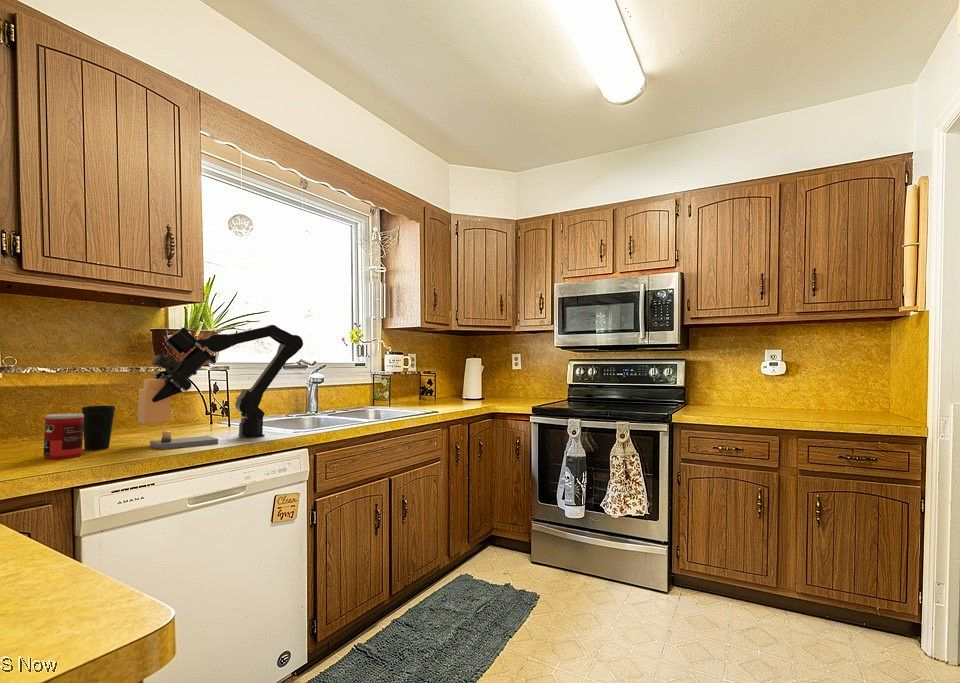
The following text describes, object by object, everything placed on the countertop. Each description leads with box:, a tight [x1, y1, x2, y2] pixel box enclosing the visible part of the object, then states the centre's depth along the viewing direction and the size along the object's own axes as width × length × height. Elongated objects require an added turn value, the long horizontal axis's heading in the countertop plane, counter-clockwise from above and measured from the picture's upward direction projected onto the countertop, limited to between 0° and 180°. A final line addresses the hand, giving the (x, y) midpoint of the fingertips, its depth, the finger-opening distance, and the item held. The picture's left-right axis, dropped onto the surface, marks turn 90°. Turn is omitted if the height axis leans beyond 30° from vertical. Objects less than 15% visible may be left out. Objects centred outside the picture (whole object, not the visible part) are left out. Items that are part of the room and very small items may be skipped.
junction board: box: [149, 430, 219, 451], centre depth 154 cm, size 16×9×4 cm, turn 138°
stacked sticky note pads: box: [137, 378, 172, 425], centre depth 154 cm, size 7×7×13 cm
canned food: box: [42, 412, 84, 460], centre depth 133 cm, size 8×8×11 cm
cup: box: [81, 405, 116, 451], centre depth 145 cm, size 8×8×12 cm
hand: (149, 400), depth 153 cm, fingers closed on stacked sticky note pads, 7 cm apart
